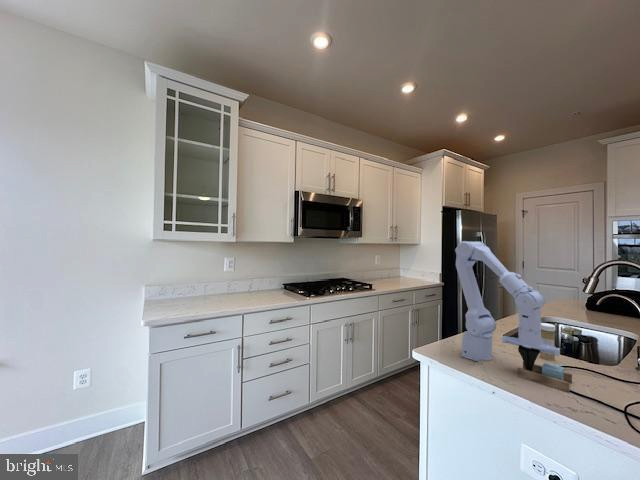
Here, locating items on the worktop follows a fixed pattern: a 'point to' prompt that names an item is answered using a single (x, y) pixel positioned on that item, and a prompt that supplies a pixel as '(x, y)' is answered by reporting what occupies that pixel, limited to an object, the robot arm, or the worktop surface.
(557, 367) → the blue block
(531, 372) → the walnut channel
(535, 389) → the worktop surface
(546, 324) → the sprinkles bottle
